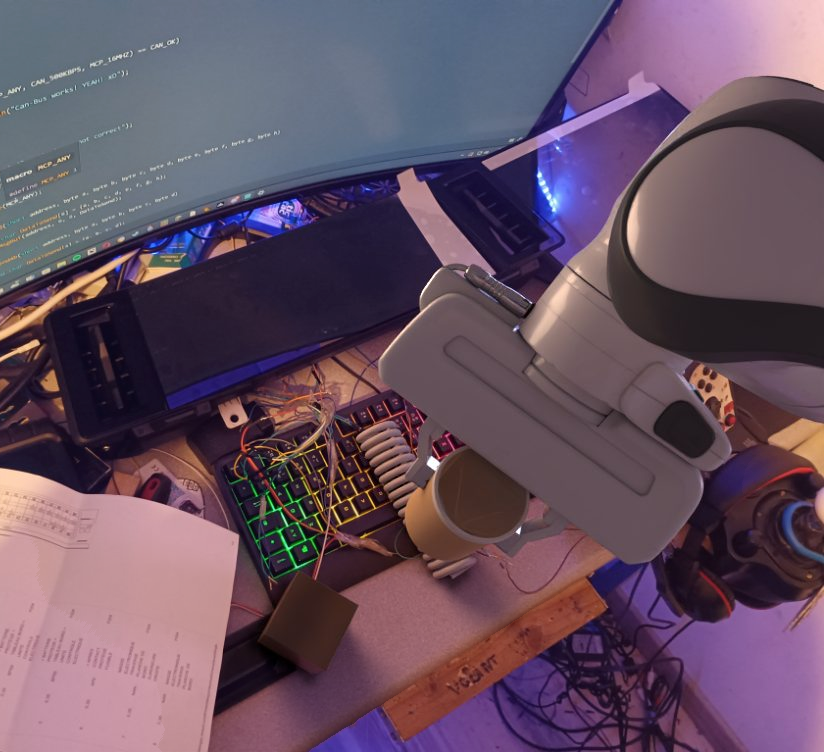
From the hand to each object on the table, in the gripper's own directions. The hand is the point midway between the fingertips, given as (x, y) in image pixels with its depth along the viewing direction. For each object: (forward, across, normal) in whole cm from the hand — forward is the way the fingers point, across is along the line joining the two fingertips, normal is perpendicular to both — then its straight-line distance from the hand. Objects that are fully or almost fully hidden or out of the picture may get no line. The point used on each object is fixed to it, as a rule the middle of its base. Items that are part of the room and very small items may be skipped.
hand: (458, 513), depth 47 cm
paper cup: (+2, 0, +3) cm, 4 cm away
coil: (+15, -1, +27) cm, 31 cm away
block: (+27, -3, +15) cm, 31 cm away
